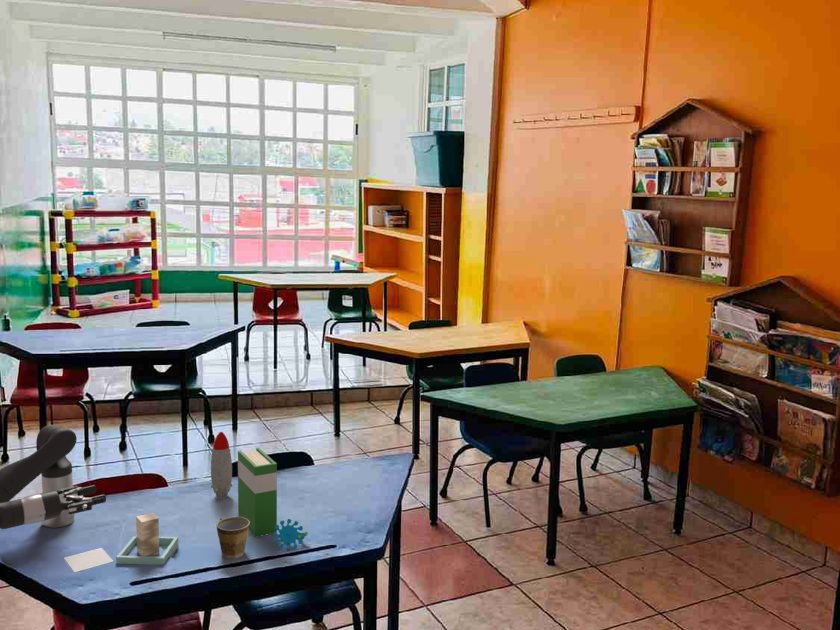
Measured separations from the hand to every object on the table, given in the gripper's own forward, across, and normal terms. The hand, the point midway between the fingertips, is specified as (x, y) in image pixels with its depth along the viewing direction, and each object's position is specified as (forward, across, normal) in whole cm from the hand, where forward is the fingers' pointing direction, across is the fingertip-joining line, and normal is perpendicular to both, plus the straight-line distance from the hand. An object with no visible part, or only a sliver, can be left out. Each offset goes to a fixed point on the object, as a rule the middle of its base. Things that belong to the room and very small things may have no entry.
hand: (100, 493), depth 214 cm
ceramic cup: (+34, +12, -24) cm, 44 cm away
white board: (-3, -6, -24) cm, 25 cm away
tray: (+13, 0, -24) cm, 27 cm away
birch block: (+13, 0, -23) cm, 26 cm away
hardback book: (+50, -1, -25) cm, 56 cm away
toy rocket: (+51, -30, -25) cm, 64 cm away
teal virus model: (+52, +19, -25) cm, 60 cm away
